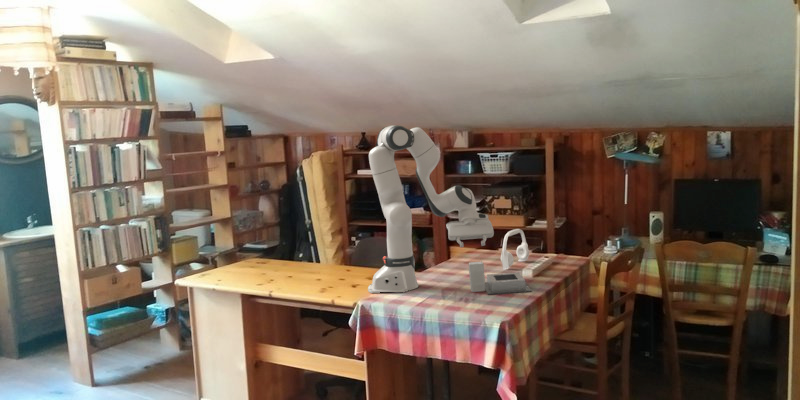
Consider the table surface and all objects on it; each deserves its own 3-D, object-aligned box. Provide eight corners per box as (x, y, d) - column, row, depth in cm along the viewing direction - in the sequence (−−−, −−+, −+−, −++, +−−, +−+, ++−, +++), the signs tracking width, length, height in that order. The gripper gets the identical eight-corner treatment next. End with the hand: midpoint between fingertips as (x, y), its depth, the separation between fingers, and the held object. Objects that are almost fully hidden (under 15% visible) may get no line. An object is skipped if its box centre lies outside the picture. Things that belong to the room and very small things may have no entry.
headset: (511, 271, 303) (509, 234, 301) (498, 269, 308) (496, 233, 306) (531, 262, 318) (530, 226, 316) (519, 261, 323) (517, 225, 321)
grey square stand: (488, 295, 266) (487, 284, 266) (482, 284, 284) (481, 273, 284) (531, 291, 266) (531, 281, 266) (522, 281, 284) (522, 270, 284)
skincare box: (484, 288, 277) (482, 261, 275) (485, 291, 272) (484, 263, 271) (469, 289, 277) (468, 262, 275) (471, 292, 272) (469, 264, 271)
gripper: (445, 217, 290) (449, 243, 281) (491, 214, 290) (496, 240, 282) (445, 226, 295) (448, 251, 286) (490, 222, 295) (495, 248, 287)
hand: (472, 245), depth 284 cm, fingers open, 8 cm apart
